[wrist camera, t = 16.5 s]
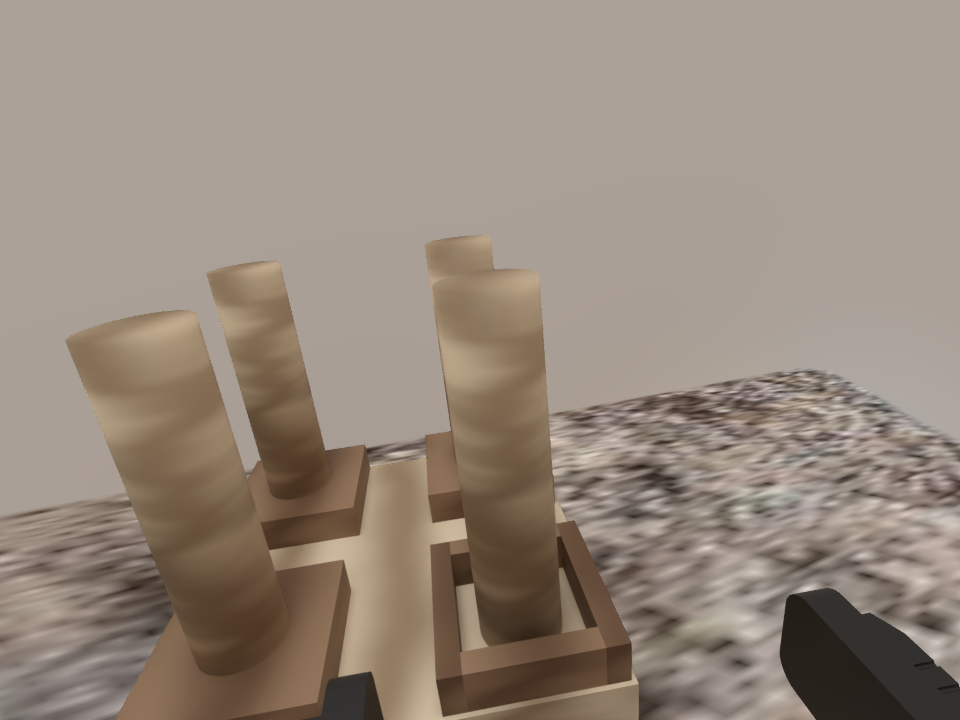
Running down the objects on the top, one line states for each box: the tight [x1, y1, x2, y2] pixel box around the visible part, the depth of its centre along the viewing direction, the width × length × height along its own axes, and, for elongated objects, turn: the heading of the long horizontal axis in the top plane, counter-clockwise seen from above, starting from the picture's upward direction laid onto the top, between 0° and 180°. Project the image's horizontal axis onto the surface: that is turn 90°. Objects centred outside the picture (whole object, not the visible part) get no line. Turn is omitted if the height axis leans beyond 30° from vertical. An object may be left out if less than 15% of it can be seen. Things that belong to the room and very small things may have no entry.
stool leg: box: [432, 269, 562, 647], centre depth 21 cm, size 4×4×16 cm
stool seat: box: [66, 235, 639, 720], centre depth 27 cm, size 20×20×19 cm
